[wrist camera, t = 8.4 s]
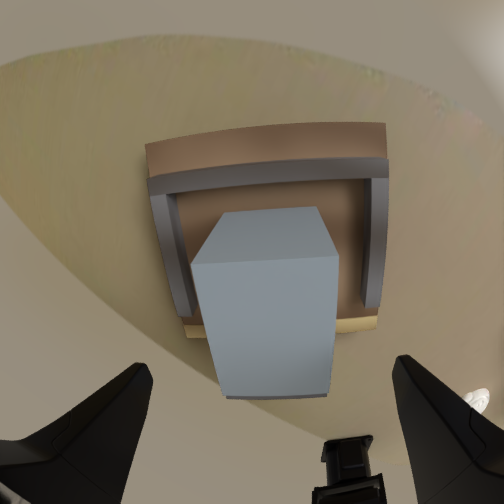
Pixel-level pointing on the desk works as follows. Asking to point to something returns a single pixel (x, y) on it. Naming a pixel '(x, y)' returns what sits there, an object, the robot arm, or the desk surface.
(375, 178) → the dock
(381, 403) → the desk surface
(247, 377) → the pale blue box
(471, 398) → the astronaut figurine
